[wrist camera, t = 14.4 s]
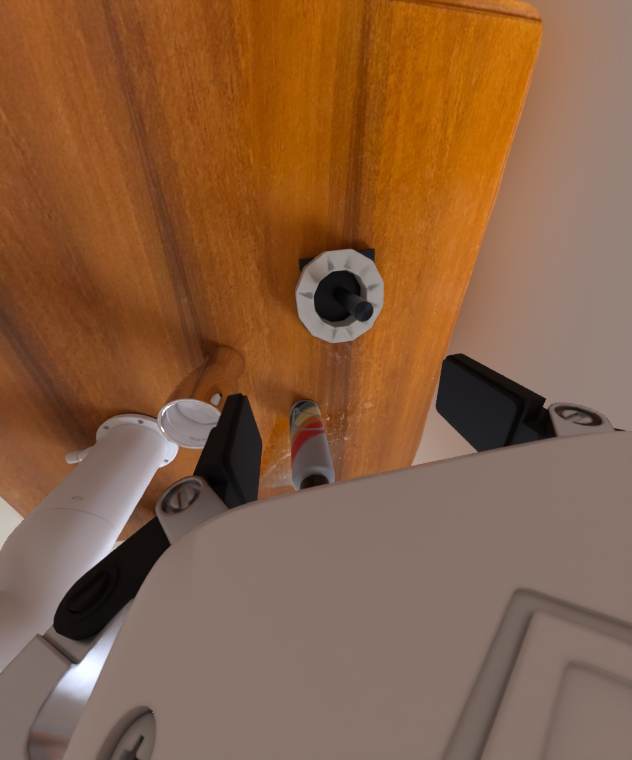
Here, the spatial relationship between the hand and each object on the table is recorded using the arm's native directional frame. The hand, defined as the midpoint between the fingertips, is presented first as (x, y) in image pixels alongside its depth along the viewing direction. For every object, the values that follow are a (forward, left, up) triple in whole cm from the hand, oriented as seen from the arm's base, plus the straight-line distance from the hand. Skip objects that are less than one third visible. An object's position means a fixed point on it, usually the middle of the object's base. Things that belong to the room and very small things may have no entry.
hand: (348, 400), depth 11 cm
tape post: (+5, 0, -26) cm, 26 cm away
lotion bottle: (-3, -20, -26) cm, 33 cm away
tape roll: (+4, 0, -25) cm, 25 cm away
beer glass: (-14, -8, -26) cm, 30 cm away
